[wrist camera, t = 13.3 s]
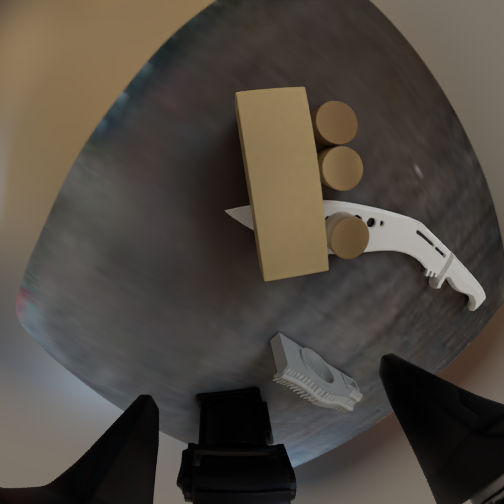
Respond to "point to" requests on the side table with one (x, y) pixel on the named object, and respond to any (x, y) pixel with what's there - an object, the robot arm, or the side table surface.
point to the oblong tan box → (282, 181)
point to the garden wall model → (313, 376)
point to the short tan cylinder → (339, 168)
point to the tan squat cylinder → (346, 235)
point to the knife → (400, 245)
